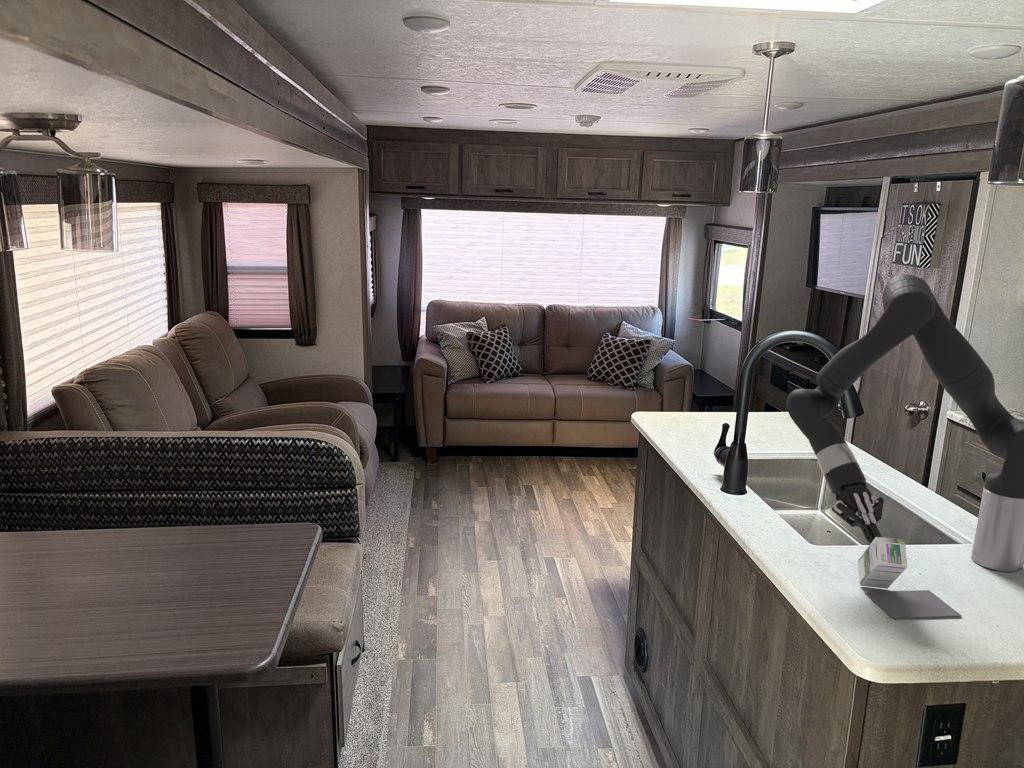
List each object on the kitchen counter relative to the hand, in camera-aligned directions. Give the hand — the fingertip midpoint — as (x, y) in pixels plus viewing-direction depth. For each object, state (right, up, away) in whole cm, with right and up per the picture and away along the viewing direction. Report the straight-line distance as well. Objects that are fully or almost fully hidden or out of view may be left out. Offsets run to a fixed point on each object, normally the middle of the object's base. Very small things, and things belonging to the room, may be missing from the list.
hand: (876, 543), depth 158 cm
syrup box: (0, -7, +2) cm, 7 cm away
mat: (+4, -11, -6) cm, 13 cm away
